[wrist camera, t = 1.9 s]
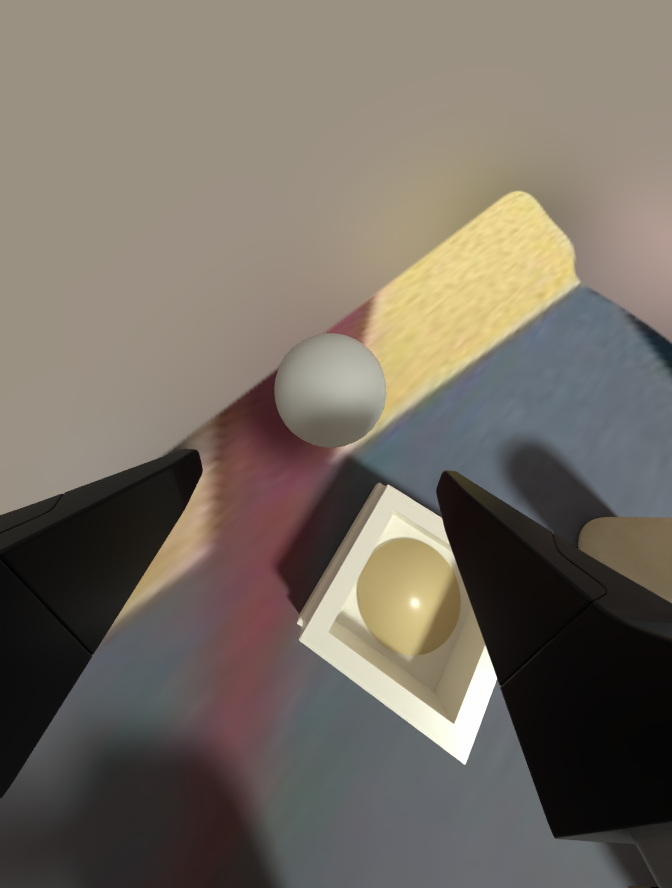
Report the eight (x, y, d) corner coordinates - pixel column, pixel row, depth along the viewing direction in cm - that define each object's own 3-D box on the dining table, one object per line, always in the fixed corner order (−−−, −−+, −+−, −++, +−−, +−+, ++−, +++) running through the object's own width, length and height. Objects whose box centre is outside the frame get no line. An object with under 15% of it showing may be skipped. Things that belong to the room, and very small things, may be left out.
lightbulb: (360, 475, 21) (395, 435, 10) (288, 465, 21) (247, 415, 10) (367, 408, 22) (404, 313, 12) (300, 398, 22) (276, 296, 12)
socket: (497, 561, 19) (540, 574, 15) (435, 714, 17) (468, 775, 13) (375, 484, 20) (386, 478, 17) (299, 614, 18) (291, 642, 14)
